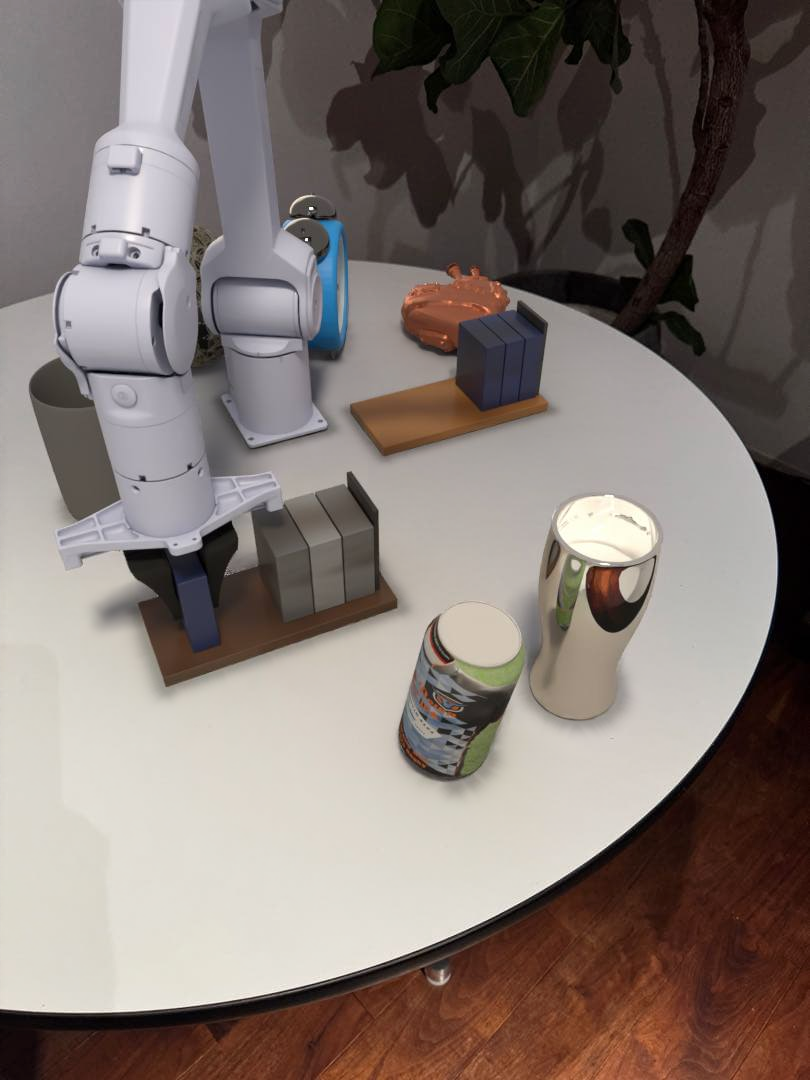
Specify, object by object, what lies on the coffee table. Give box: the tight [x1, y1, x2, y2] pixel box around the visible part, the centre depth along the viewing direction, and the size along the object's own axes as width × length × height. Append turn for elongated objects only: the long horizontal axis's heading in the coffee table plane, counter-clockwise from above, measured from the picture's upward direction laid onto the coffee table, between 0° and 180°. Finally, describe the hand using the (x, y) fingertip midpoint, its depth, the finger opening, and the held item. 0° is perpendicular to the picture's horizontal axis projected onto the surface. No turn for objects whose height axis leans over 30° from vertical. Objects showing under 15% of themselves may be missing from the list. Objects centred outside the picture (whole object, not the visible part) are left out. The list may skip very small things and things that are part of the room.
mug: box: [28, 356, 121, 521], centre depth 74 cm, size 14×9×12 cm
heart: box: [400, 262, 511, 353], centre depth 97 cm, size 6×12×15 cm
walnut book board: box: [137, 470, 398, 688], centre depth 64 cm, size 8×18×9 cm, turn 116°
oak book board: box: [349, 299, 549, 457], centre depth 84 cm, size 8×18×9 cm, turn 115°
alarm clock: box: [281, 192, 349, 360], centre depth 91 cm, size 13×6×15 cm, turn 178°
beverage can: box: [398, 599, 526, 779], centre depth 54 cm, size 6×7×12 cm
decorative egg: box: [189, 222, 225, 368], centre depth 88 cm, size 12×12×15 cm
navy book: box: [163, 548, 221, 653], centre depth 62 cm, size 6×2×7 cm, turn 26°
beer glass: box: [529, 491, 664, 721], centre depth 56 cm, size 7×7×15 cm
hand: (192, 604), depth 63 cm, fingers closed on navy book, 2 cm apart
